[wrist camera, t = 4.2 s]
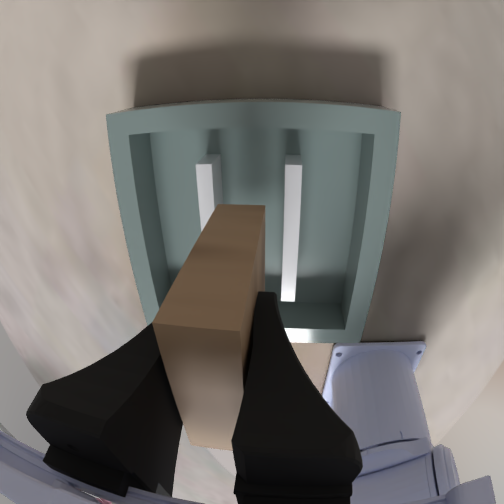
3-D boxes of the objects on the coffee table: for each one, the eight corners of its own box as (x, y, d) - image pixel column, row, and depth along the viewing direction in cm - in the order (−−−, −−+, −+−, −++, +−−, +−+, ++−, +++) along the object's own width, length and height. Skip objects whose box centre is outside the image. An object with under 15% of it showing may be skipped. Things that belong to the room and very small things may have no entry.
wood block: (264, 318, 16) (247, 452, 10) (225, 315, 16) (191, 445, 10) (265, 205, 13) (240, 330, 7) (217, 204, 13) (151, 322, 7)
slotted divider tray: (353, 311, 22) (359, 343, 19) (163, 301, 23) (148, 329, 21) (381, 106, 15) (400, 112, 12) (133, 107, 16) (105, 114, 14)
